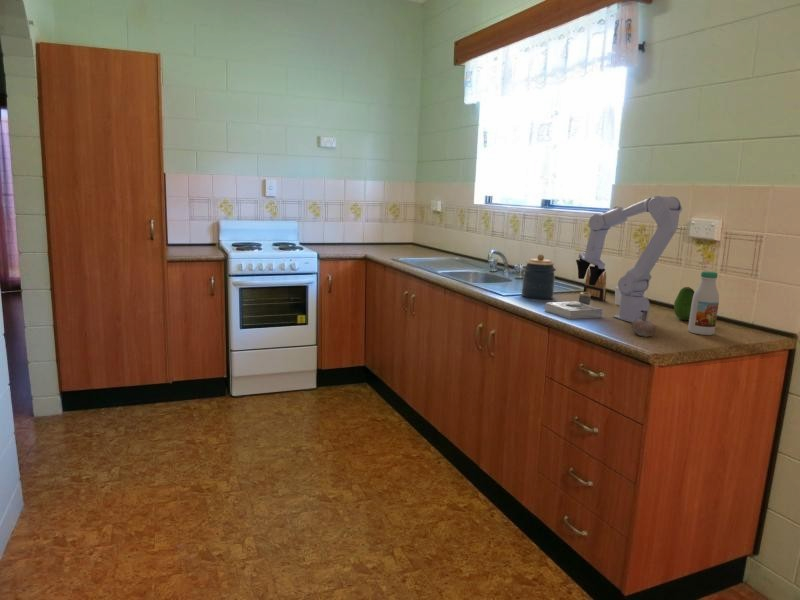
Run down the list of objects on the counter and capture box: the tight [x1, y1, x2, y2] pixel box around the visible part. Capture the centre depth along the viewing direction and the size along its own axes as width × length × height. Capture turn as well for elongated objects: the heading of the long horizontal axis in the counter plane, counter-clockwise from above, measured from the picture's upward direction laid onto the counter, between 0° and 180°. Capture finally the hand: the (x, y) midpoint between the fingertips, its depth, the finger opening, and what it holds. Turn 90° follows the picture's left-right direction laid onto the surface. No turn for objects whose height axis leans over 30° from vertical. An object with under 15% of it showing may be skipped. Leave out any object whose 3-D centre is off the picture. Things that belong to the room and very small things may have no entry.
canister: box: [521, 253, 557, 300], centre depth 243 cm, size 13×13×18 cm
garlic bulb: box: [631, 310, 656, 338], centre depth 185 cm, size 8×7×8 cm
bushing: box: [578, 291, 591, 305], centre depth 222 cm, size 4×4×6 cm
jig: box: [544, 300, 603, 320], centre depth 212 cm, size 14×14×3 cm
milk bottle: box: [687, 270, 720, 336], centre depth 189 cm, size 8×8×20 cm
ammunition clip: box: [582, 268, 607, 302], centre depth 244 cm, size 11×2×12 cm, turn 29°
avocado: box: [673, 286, 695, 321], centre depth 209 cm, size 8×8×12 cm
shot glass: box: [614, 285, 621, 306], centre depth 234 cm, size 7×7×7 cm
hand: (586, 281), depth 222 cm, fingers open, 7 cm apart
